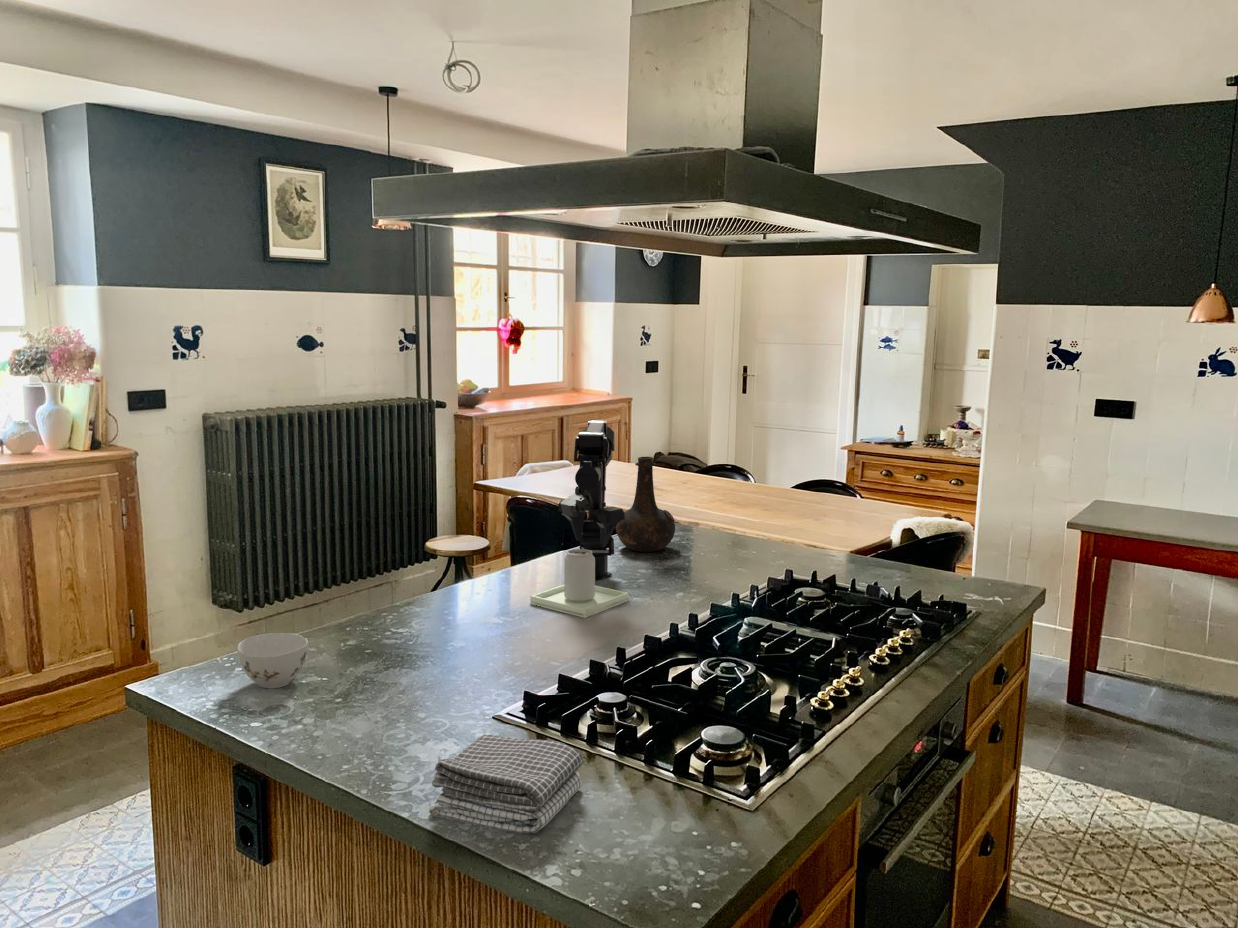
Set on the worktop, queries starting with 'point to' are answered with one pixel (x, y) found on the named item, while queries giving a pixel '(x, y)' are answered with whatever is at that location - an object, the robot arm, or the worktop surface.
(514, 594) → the worktop surface
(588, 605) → the tray
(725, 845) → the worktop surface
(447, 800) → the towel
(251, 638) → the teacup
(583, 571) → the can
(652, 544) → the glass bottle
